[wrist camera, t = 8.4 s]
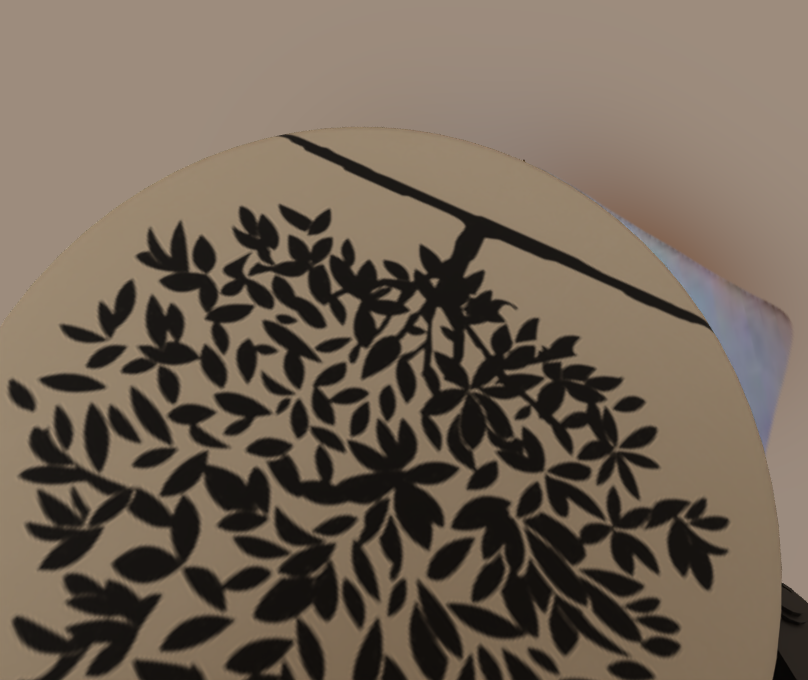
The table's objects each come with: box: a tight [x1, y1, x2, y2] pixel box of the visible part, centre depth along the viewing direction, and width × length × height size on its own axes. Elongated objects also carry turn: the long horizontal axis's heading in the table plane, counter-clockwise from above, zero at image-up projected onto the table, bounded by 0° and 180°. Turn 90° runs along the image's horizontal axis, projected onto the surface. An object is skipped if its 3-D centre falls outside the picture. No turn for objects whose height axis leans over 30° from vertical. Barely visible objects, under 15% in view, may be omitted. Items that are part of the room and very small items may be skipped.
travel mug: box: [0, 127, 782, 680], centre depth 12 cm, size 8×8×18 cm
